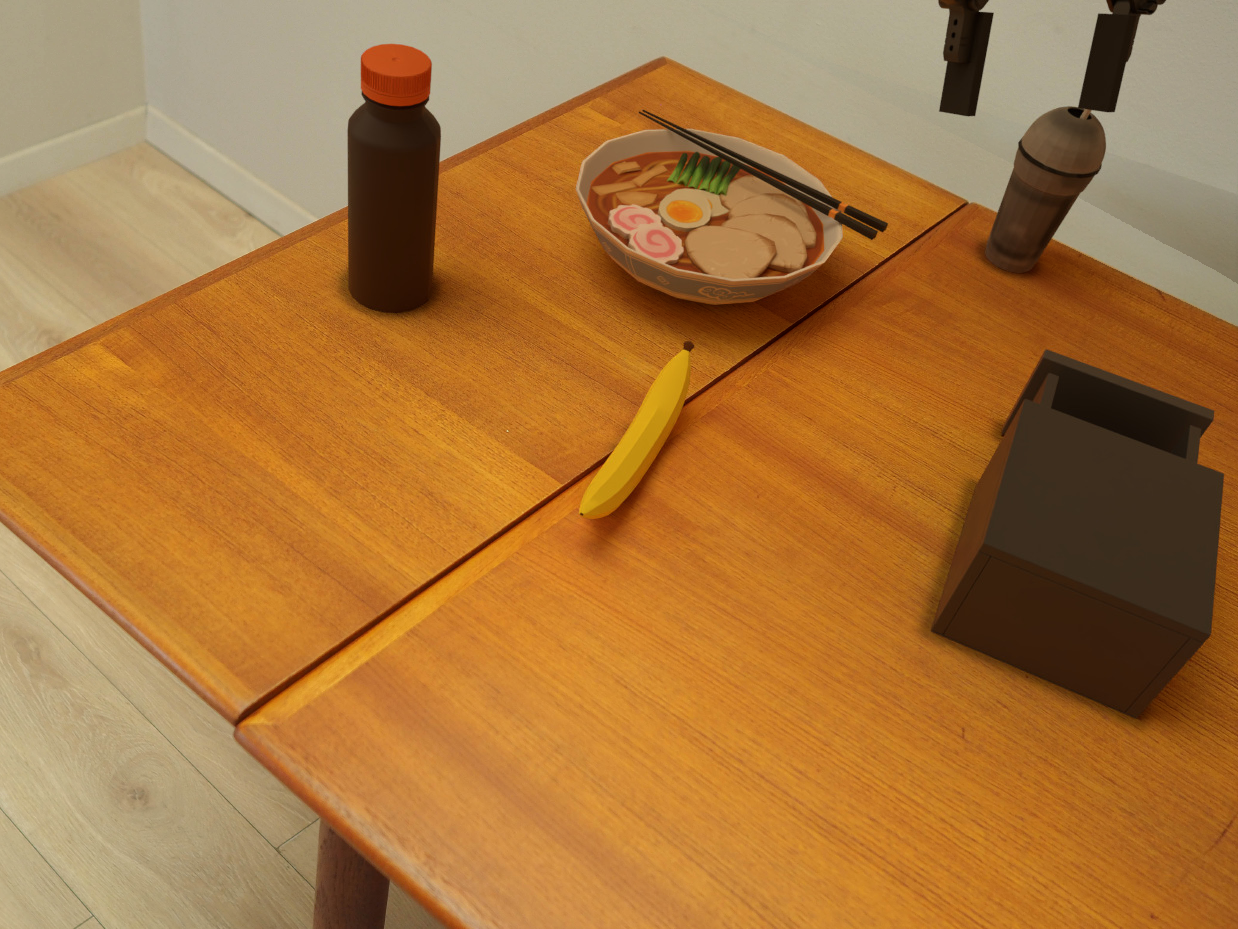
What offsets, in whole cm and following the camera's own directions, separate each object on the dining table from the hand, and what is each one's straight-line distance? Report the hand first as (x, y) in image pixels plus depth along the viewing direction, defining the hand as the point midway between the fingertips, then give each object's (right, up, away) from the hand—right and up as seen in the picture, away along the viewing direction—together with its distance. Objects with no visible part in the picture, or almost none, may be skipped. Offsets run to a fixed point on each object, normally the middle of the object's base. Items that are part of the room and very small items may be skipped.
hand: (1028, 112), depth 83 cm
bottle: (-47, -11, +12) cm, 50 cm away
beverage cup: (+9, -5, +27) cm, 29 cm away
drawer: (+5, -27, +4) cm, 28 cm away
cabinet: (0, -35, -2) cm, 35 cm away
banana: (-29, -26, +1) cm, 39 cm away
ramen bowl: (-22, -7, +20) cm, 30 cm away
